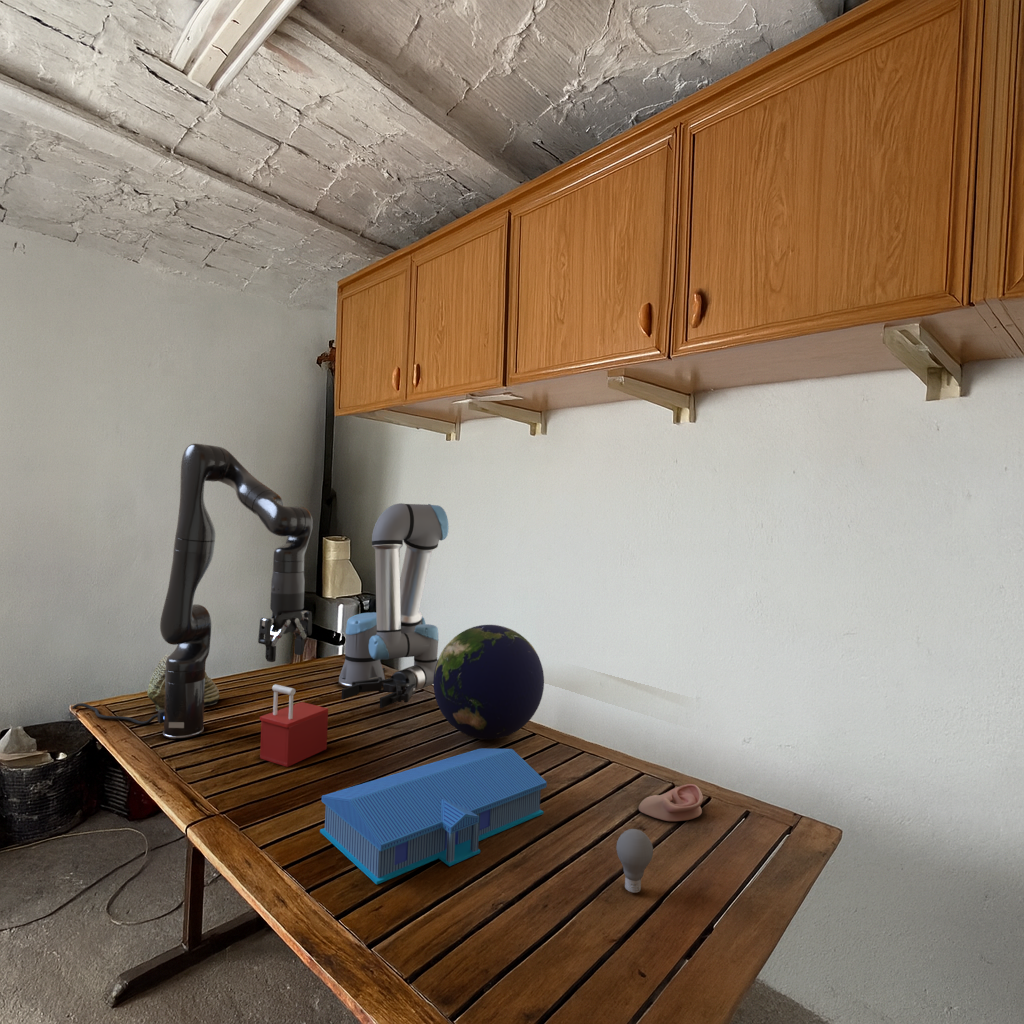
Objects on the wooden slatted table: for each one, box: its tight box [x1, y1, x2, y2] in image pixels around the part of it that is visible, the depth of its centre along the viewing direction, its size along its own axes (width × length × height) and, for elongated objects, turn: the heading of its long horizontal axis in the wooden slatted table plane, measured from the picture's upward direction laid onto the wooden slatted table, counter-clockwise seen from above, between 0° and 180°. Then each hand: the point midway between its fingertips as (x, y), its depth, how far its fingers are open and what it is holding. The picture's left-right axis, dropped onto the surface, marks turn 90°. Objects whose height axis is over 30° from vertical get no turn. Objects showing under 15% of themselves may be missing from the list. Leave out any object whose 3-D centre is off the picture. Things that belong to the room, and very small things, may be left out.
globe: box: [432, 624, 545, 740], centre depth 172 cm, size 30×30×30 cm
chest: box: [259, 711, 329, 768], centre depth 155 cm, size 13×9×9 cm
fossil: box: [147, 654, 221, 711], centre depth 185 cm, size 9×18×15 cm, turn 132°
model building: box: [319, 747, 548, 885], centre depth 124 cm, size 39×24×10 cm, turn 132°
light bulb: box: [615, 828, 654, 894], centre depth 106 cm, size 6×6×10 cm
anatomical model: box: [638, 783, 704, 822], centre depth 135 cm, size 13×4×12 cm
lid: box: [259, 683, 329, 728], centre depth 155 cm, size 13×9×8 cm
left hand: (285, 657), depth 151 cm, fingers open, 8 cm apart
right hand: (361, 698), depth 176 cm, fingers open, 13 cm apart
